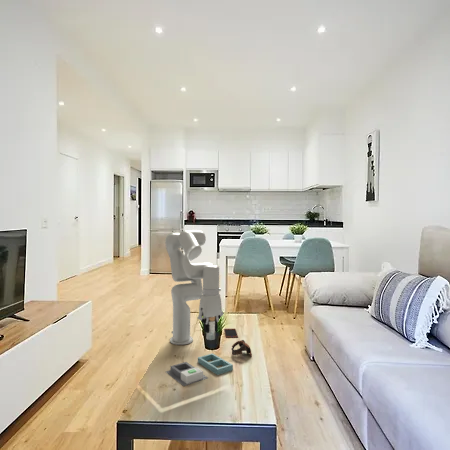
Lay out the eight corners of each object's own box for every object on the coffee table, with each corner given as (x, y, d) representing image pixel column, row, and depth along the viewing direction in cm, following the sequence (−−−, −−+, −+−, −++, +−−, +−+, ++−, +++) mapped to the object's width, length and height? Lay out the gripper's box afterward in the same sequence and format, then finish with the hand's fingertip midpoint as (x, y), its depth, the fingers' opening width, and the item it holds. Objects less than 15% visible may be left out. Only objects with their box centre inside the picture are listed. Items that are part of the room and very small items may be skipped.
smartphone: (225, 337, 200) (224, 328, 215) (225, 338, 200) (224, 329, 215) (238, 336, 200) (235, 328, 215) (238, 338, 200) (235, 329, 215)
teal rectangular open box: (197, 364, 164) (197, 357, 164) (212, 360, 169) (212, 353, 169) (217, 377, 151) (217, 369, 151) (232, 372, 156) (232, 364, 156)
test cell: (204, 338, 163) (204, 313, 162) (211, 336, 165) (212, 311, 165) (209, 340, 159) (209, 315, 159) (216, 338, 162) (217, 313, 162)
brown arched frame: (253, 360, 171) (246, 347, 169) (236, 367, 172) (228, 354, 170) (252, 345, 182) (245, 332, 180) (236, 352, 184) (229, 339, 182)
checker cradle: (165, 374, 154) (165, 364, 154) (188, 367, 161) (188, 357, 161) (183, 389, 141) (183, 377, 141) (208, 380, 148) (208, 370, 148)
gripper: (220, 288, 170) (220, 325, 170) (191, 292, 160) (191, 332, 160) (230, 291, 164) (229, 330, 164) (200, 295, 154) (199, 337, 154)
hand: (210, 330), depth 162 cm, fingers closed on test cell, 4 cm apart
